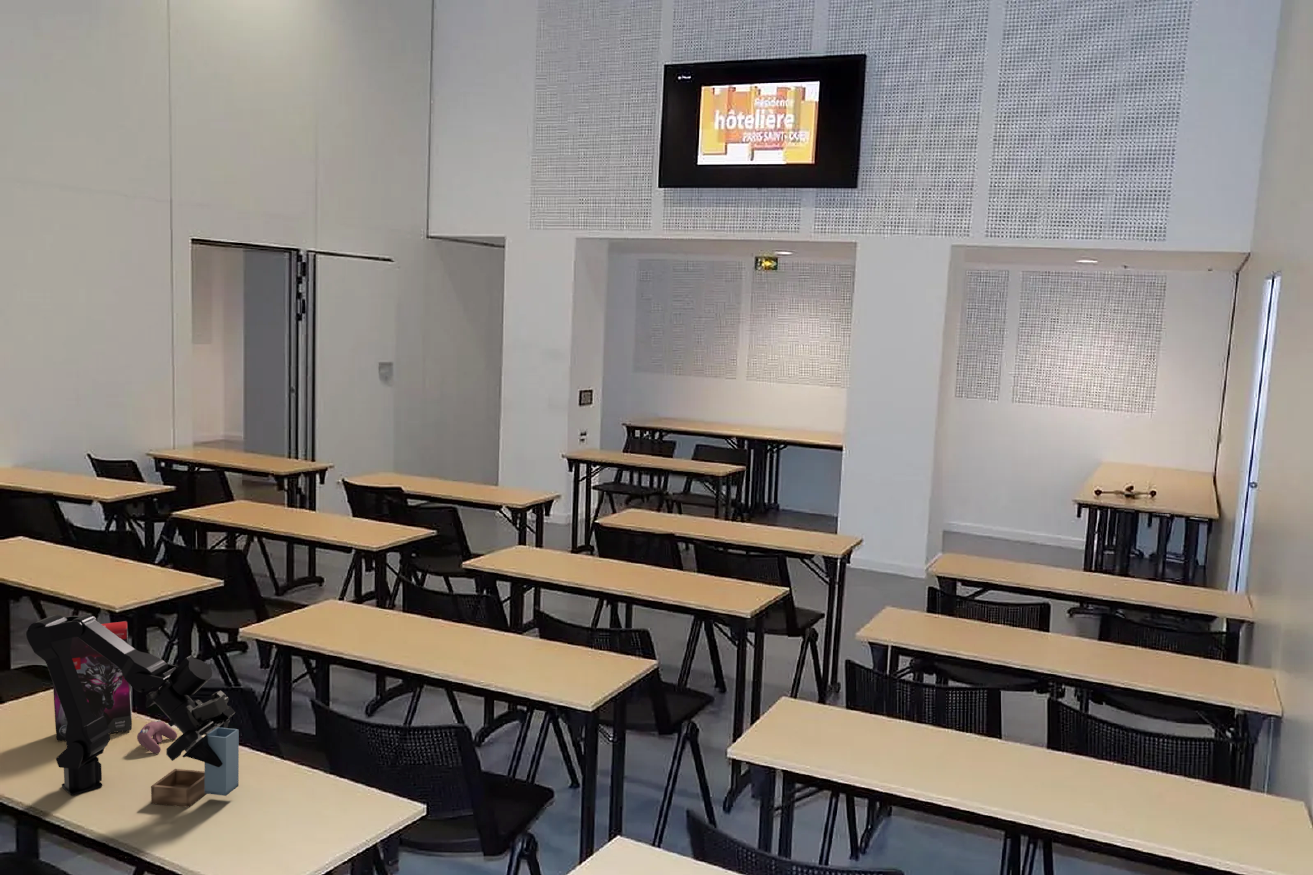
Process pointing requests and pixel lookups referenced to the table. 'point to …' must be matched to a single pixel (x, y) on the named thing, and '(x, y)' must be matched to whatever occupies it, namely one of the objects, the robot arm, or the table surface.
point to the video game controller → (155, 735)
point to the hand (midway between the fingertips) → (227, 760)
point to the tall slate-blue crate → (228, 752)
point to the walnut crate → (179, 788)
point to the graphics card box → (99, 685)
